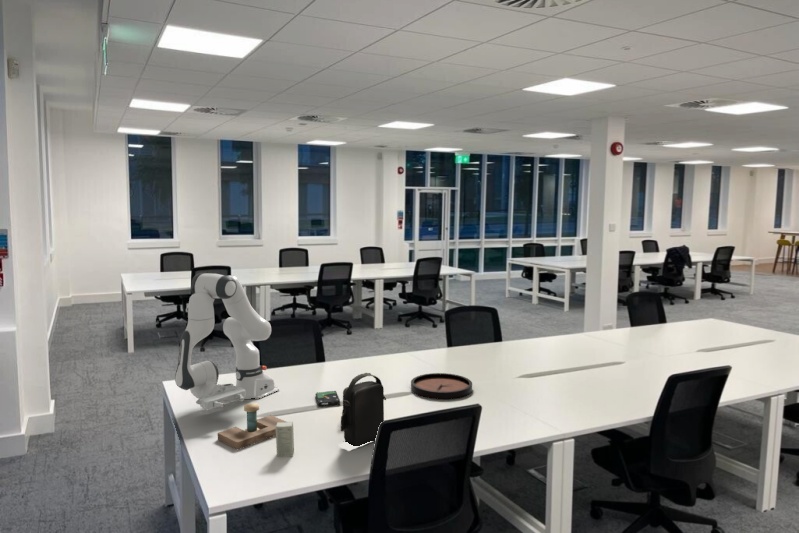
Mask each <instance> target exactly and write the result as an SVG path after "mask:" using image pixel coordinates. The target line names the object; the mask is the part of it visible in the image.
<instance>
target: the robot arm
mask: <svg viewBox="0 0 799 533" xmlns="http://www.w3.org/2000/svg"><path fill="white" fill-rule="evenodd" d="M190 282H191V283H190V290H191V296H189V299H188V300H189V301H188V308H187V318H188V319H187V325H186V328H185V330H184V331H183V332H182V334H181V336H180V341H179V349H178V359H177V367H176V372H175V374H174V381H175V384H176V385H177V387H178V388H180V389H182V390H184V391H188V390H190V393H191V394H192V396H194V397H195V398H196V399H197V400H195V403H196V404H197V405H200V407H201V408H202V409H203V410H204V411H205V410H206V411H207V410H211V409H215V408H225V407H226V406H225V405H226V404H231V403H233V402H236V401H239V402H241V403H242V402H243V401H245V400H250V399H251V398H255V399H254V400H257V399H259V398H260V399H262V397H263V398H265V397H268V396H270V395H272V394H274V392H275V393H277V392H279V391H280V387H278V386H277V385H275V382H274V379H273V377H272V376H270V375H269V374H267V373H265V372H264V371H266V370H267V369H268V368H267V366H266V365H260V350H259V349H258V348H257V347H256V346H255V345H254V343H253V342H260V341H266V340H268V339H269V338H270V336H271V334H272V326H271V323H270V322H269V321H268V320H266V319H264V317H262V316H261V315H260V314H259V313H258V312H257V311H256V310H255V309H254V308H253V306H252V305H251V303H250V300H249V298H248V295H247V293H246V290H245V289H244V286H243V285H242V283H241V282H240V280H239V278H237V277H236V276H235V275H224V274H219V273H211V272H209V273H207V272H200V273H197V274H195V275H194V276H193V277H192V280H191V281H190ZM215 299H220V300H222V303H223V305H224V307H225V309H226V310H225V311H226V312H227V314H228V315H229V316H230V317H227V318H226V319H225V320H224V321H223V325H222V330H223V334H224V335H225V336H226V337H227V338H228V339H229V340H230V342H231V344H232V346H233V348H234V352H235V361H236V366H235V378H236V382H235V385H234V384H233V383H223V384H218V380H219V375H220V373H219V369H218V366H217V365H216V363H214V362H213V361H211V360H210V359H209V360H204V361H201V362H198V363H194V364H191V363H192V362H191V361H192V360H191V359H192V352H193V349H194V347H195V346H196V345H197V344H198V343H199V342H200V341H202V340H203V339H205V338H207V337H208V336H209V335H210V334H211V333H212V332H213V330H214V328H215V321H216V320H215V308H214V302H215ZM252 341H253V342H252ZM276 391H277V392H276ZM271 393H272V394H271ZM269 394H270V395H269ZM267 395H268V396H267ZM264 396H265V397H264ZM251 400H252V399H251Z"/></svg>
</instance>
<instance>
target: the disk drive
mask: <svg viewBox="0 0 799 533" xmlns="http://www.w3.org/2000/svg"><path fill="white" fill-rule="evenodd" d="M315 399H316V402H318V403H317V405H318V407H319V408H321V407H333V406H335V407H336V406H340V405H341V399H340V397H339V394H338V392H337V390H330V391H321V392H318V391H316V392H315Z"/></svg>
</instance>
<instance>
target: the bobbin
mask: <svg viewBox="0 0 799 533" xmlns="http://www.w3.org/2000/svg"><path fill="white" fill-rule="evenodd" d="M259 410H260V405H259V403H255V402H254V403H253V402H252V403H246V404H244V405H243V411H244V412H245V413H246V428H245V429H244V431H246V432H248V433H252V432H255V431H258V430H260V429H259V428H257V418H258V415H257V411H259Z"/></svg>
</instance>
